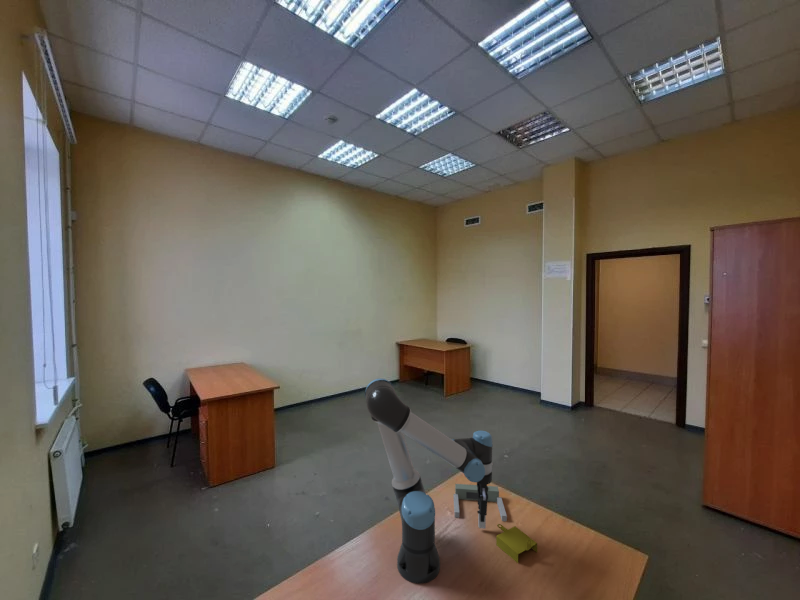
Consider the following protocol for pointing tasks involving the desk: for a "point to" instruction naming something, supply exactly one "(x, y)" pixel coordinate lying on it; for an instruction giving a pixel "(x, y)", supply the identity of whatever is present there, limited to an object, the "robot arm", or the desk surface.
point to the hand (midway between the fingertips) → (481, 527)
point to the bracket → (514, 542)
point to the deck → (472, 494)
